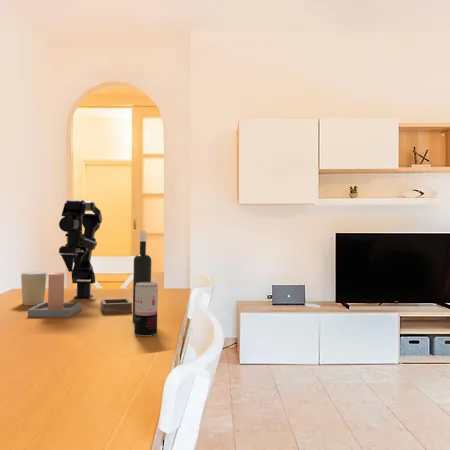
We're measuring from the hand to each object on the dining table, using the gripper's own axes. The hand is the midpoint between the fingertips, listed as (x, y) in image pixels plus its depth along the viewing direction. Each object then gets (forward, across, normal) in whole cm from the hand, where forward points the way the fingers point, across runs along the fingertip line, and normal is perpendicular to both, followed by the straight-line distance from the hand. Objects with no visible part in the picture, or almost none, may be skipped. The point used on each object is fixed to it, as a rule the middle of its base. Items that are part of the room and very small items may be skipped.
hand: (74, 270), depth 181 cm
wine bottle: (+13, -31, -32) cm, 46 cm away
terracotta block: (+12, -20, 0) cm, 23 cm away
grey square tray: (+13, -20, 0) cm, 24 cm away
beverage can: (+13, -48, -36) cm, 61 cm away
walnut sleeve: (+13, -14, -20) cm, 28 cm away
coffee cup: (+13, -2, +15) cm, 20 cm away
